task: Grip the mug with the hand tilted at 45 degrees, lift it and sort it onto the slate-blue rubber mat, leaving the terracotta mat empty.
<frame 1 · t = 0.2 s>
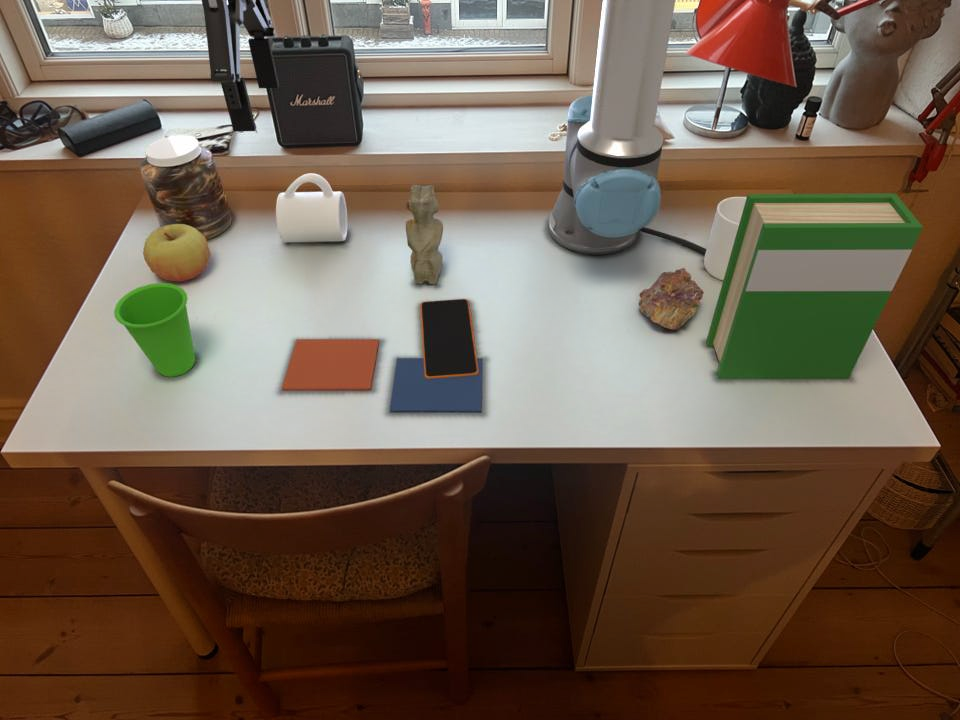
hand: (257, 107, 94), 28 cm above the table, tool pointing down, fingers open, 13 cm apart
terracotta mat: (332, 364, 98), on the table
sculpture: (427, 276, 113), on the table
cup: (177, 365, 99), on the table
mineral specimen: (667, 311, 106), on the table
apple: (184, 273, 115), on the table
blue mat: (437, 385, 95), on the table
hardback book: (774, 361, 98), on the table
mug: (731, 275, 113), on the table
mug 2: (317, 238, 122), on the table
jar: (198, 226, 125), on the table
smartphone: (448, 340, 102), on the table, touching blue mat
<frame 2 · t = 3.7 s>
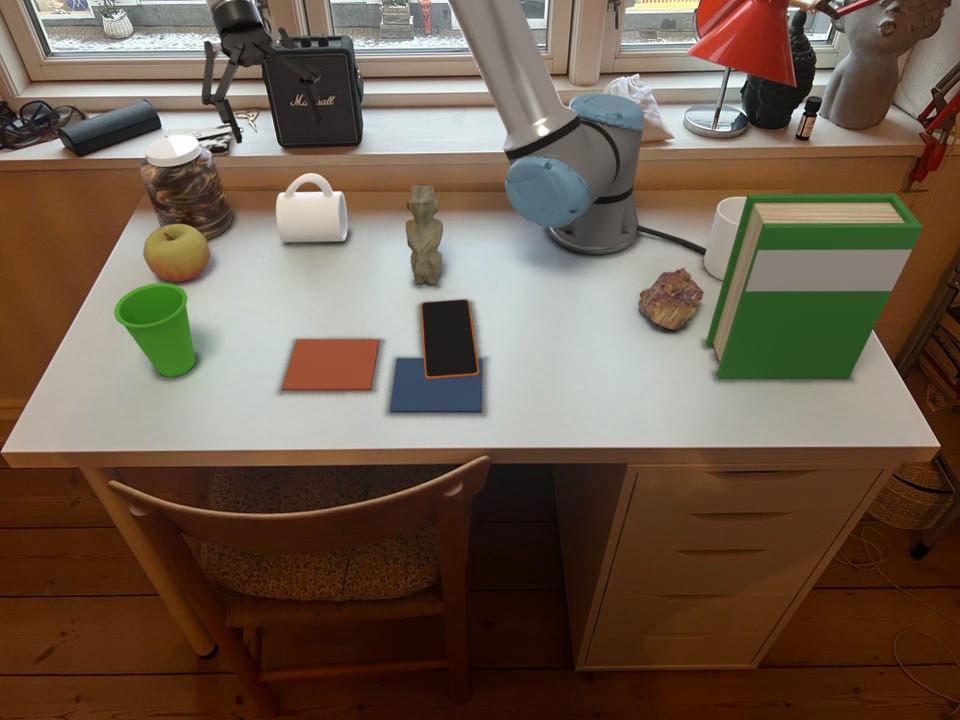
hand: (279, 131, 118), 15 cm above the table, tool tilted 45°, fingers open, 13 cm apart
nothing on the table moved.
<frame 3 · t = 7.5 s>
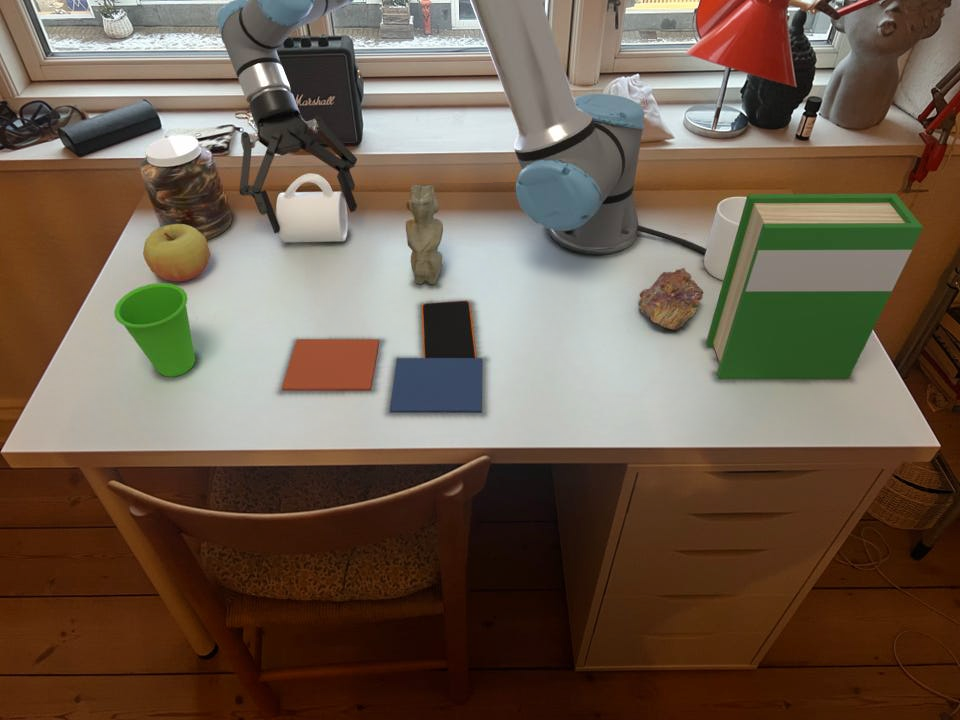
hand: (316, 220, 117), 5 cm above the table, tool tilted 45°, fingers closed on mug 2, 13 cm apart
mug 2: (317, 238, 122), on the table, touching gripper
smartphone: (448, 342, 102), on the table
everything else where it was.
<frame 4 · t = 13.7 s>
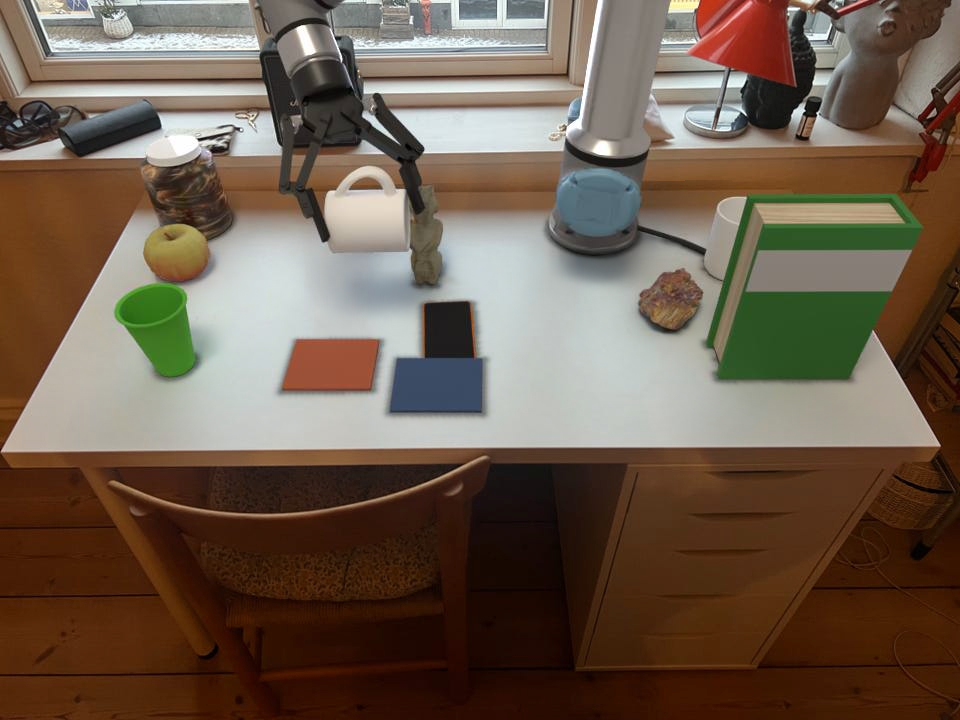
hand: (374, 225, 92), 17 cm above the table, tool tilted 45°, fingers closed on mug 2, 13 cm apart
mug 2: (372, 248, 97), point 12 cm above the table, touching gripper
everything else where it was.
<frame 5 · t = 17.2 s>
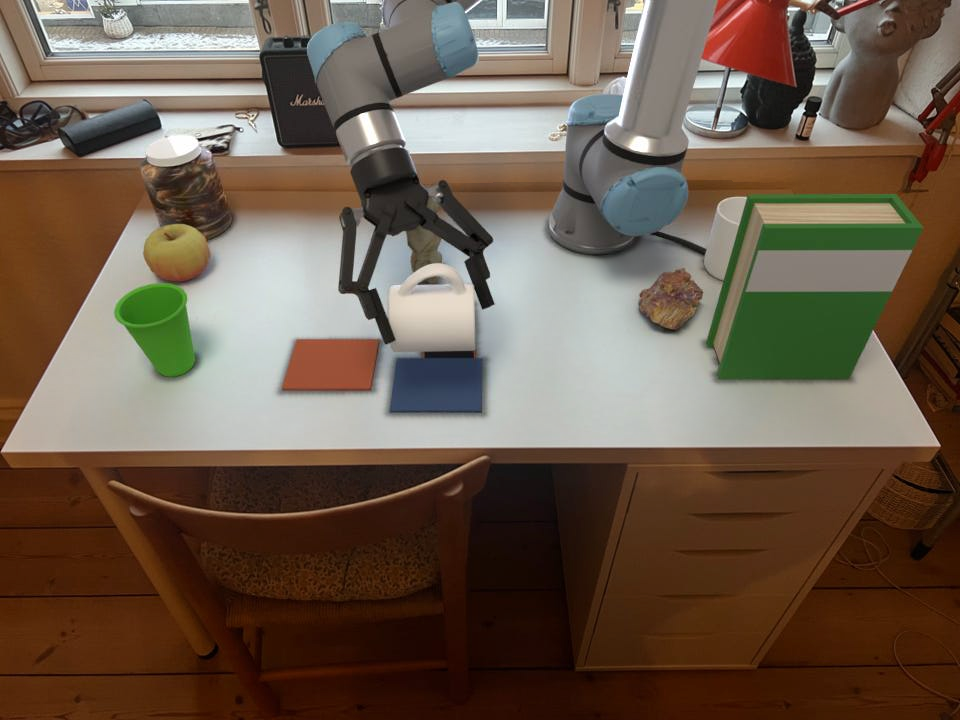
hand: (440, 324, 85), 13 cm above the table, tool tilted 45°, fingers closed on mug 2, 13 cm apart
mug 2: (434, 344, 90), point 8 cm above the table, touching gripper
everything else where it was.
when the fingers open (5 cm above the table, at t = 19.9 s): mug 2 stays where it is, resting on blue mat.
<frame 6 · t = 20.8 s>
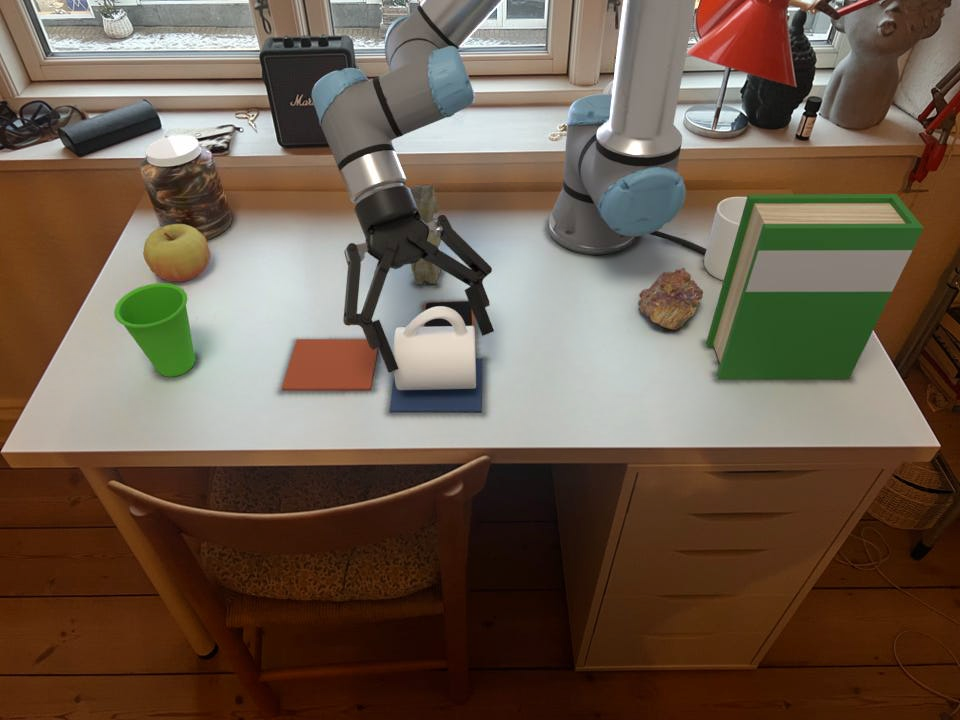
hand: (442, 352, 89), 7 cm above the table, tool tilted 45°, fingers open, 13 cm apart
mug 2: (437, 382, 95), resting on blue mat
everything else where it was.
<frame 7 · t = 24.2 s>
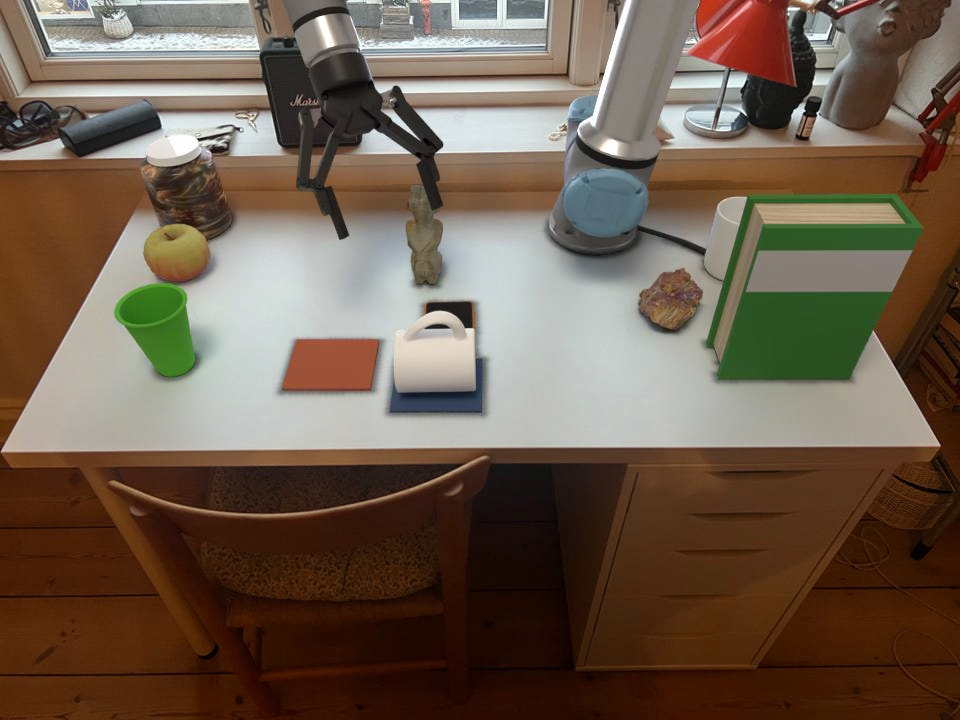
hand: (392, 223, 92), 18 cm above the table, tool tilted 35°, fingers open, 13 cm apart
nothing on the table moved.
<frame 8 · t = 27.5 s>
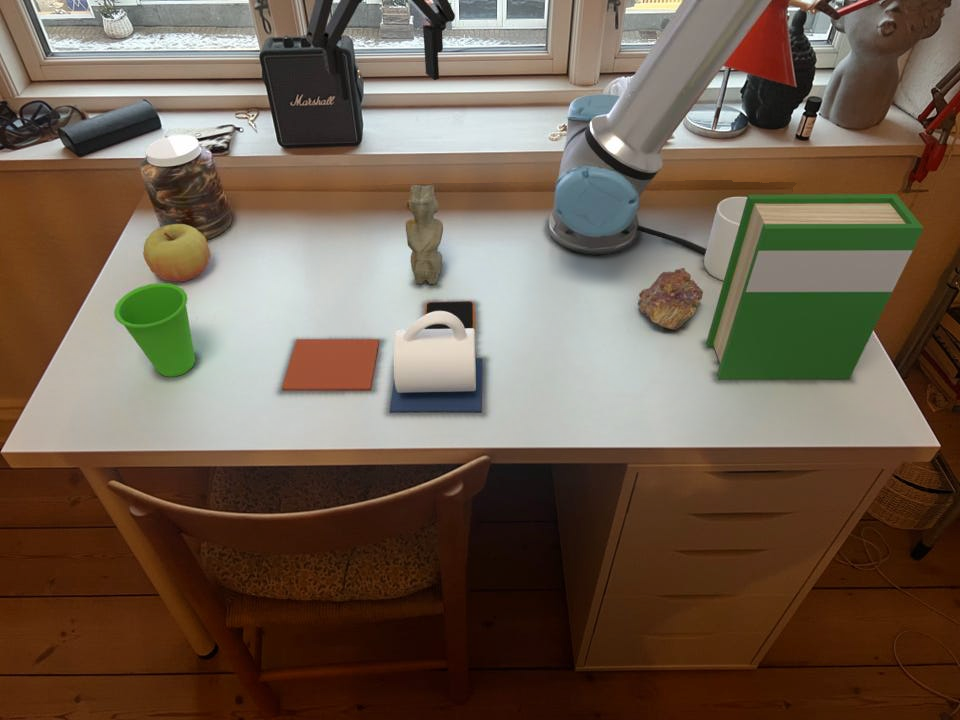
hand: (388, 86, 97), 29 cm above the table, tool pointing down, fingers open, 13 cm apart
nothing on the table moved.
at the end: mug 2 inside the target area on the blue mat (0.1 cm from its centre), point 0.2 cm above the blue mat's base; mug 2 tilted 0°; the gripper is holding nothing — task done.
